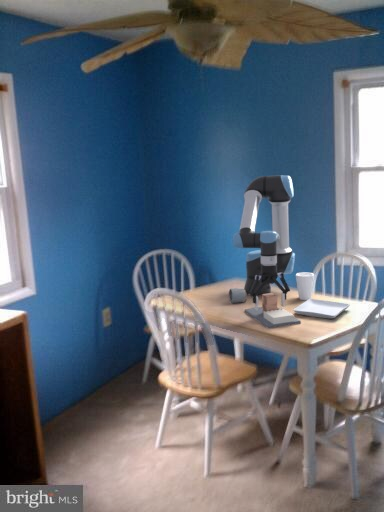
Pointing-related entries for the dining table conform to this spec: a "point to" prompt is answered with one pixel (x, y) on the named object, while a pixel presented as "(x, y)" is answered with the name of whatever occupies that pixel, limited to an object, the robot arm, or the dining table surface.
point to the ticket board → (262, 320)
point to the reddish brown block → (269, 302)
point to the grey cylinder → (237, 295)
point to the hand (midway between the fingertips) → (269, 308)
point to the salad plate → (321, 308)
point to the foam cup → (305, 285)
